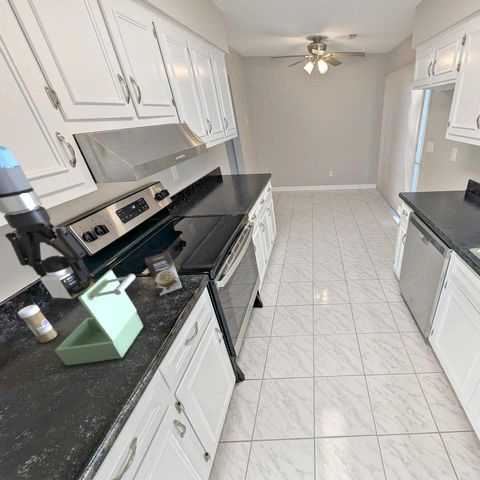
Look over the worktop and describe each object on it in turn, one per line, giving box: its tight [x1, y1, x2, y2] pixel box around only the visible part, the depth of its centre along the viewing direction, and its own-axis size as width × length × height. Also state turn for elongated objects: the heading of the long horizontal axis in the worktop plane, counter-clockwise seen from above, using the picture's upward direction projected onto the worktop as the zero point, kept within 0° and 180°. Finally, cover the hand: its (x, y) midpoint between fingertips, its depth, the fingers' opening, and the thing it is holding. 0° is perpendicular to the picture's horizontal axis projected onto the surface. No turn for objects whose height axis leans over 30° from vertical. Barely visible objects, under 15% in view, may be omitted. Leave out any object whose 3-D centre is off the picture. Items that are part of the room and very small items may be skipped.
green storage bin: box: [54, 311, 144, 366], centre depth 84 cm, size 17×14×7 cm
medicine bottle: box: [40, 253, 95, 300], centre depth 75 cm, size 7×7×12 cm
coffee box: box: [144, 251, 183, 296], centre depth 108 cm, size 9×6×16 cm
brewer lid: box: [77, 269, 137, 342], centre depth 79 cm, size 17×14×9 cm
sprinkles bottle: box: [17, 304, 58, 343], centre depth 87 cm, size 5×5×14 cm
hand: (68, 281), depth 76 cm, fingers closed on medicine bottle, 8 cm apart
